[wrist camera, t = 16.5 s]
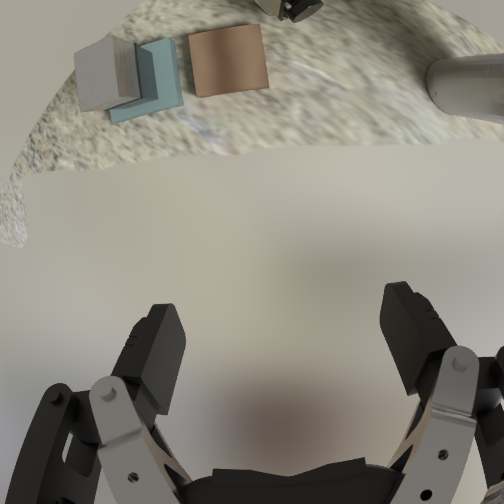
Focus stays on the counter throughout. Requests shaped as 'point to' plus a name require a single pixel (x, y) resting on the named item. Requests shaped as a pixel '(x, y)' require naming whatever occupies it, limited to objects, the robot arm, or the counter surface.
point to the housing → (114, 75)
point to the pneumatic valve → (290, 8)
